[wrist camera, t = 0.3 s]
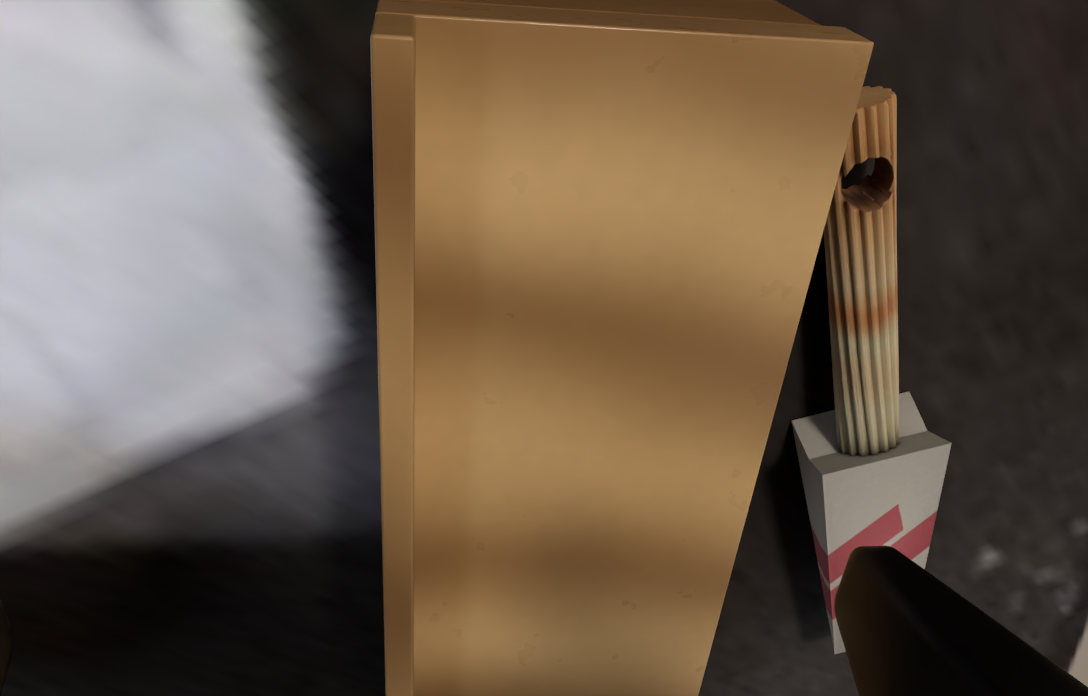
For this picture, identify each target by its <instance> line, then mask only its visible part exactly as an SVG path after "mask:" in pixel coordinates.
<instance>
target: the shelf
mask: <svg viewBox="0 0 1088 696" xmlns="http://www.w3.org/2000/svg"><path fill="white" fill-rule="evenodd" d="M370 46H371V89H372V132H373V176H374V219H375V262H376V305H377V348H378V392H379V435H380V478H381V521H382V565H383V608H384V651H385V694H386V696H698V694H699V690H700V687H701V683H702V679H703V676H704V672H705V668H706V664H707V661H708V657H709V653H710V650H711V646H712V642H713V639H714V635H715V631H716V627H717V624H718V620H719V616H720V613H721V609H722V605H723V601H724V598H725V594H726V590H727V587H728V583H729V579H730V576H731V572H732V568H733V564H734V561H735V557H736V553H737V550H738V546H739V542H740V538H741V535H742V531H743V527H744V524H745V520H746V516H747V513H748V509H749V505H750V501H751V498H752V494H753V490H754V487H755V483H756V479H757V475H758V472H759V468H760V464H761V461H762V457H763V453H764V450H765V446H766V442H767V438H768V435H769V431H770V427H771V424H772V420H773V416H774V412H775V409H776V405H777V401H778V398H779V394H780V390H781V387H782V383H783V379H784V375H785V372H786V368H787V364H788V361H789V357H790V353H791V349H792V346H793V342H794V338H795V335H796V331H797V327H798V324H799V320H800V316H801V312H802V309H803V305H804V301H805V298H806V294H807V290H808V286H809V283H810V279H811V275H812V272H813V268H814V264H815V261H816V257H817V253H818V249H819V246H820V242H821V238H822V235H823V231H824V227H825V224H826V220H827V216H828V212H829V209H830V205H831V201H832V198H833V194H834V190H835V186H836V183H837V179H838V175H839V172H840V168H841V164H842V161H843V157H844V153H845V149H846V146H847V142H848V138H849V135H850V131H851V127H852V123H853V120H854V116H855V112H856V109H857V105H858V101H859V98H860V94H861V90H862V86H863V83H864V79H865V75H866V72H867V68H868V64H869V60H870V57H871V53H872V49H873V46H874V43H873V42H871V41H869V40H868V39H866V38H864V37H862V36H860V35H858V34H856V33H854V32H852V31H850V30H848V29H846V28H844V27H833V26H821V25H819V24H817V23H815V22H814V21H812V20H810V19H808V18H806V17H804V16H803V15H801V14H799V13H797V12H795V11H793V10H792V9H790V8H788V7H786V6H784V5H782V4H781V3H779V2H777V1H775V0H379V1H378V6H377V10H376V14H375V20H374V24H373V28H372V33H371V37H370Z"/></svg>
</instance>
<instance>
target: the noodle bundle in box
mask: <svg viewBox="0 0 1088 696" xmlns="http://www.w3.org/2000/svg"><path fill="white" fill-rule="evenodd" d="M868 158H875V167H874V171H873V173H872V175H871V177H870V176H869V175H867V176H866V177H865V178H864V179H863V180H862V182H861V183H860V184H859V185H852V186H850V187H848V189H841V179H842V176H843V173H844V177H846V175H847V174H848V173H849V172H850V170H851V169H852V167H853V166H854V165H855V164H856V163H862V162H864V161H866V160H867V159H868ZM896 167H897V97H896V95H895V93H894V92H893V91H891V89H889V88H884V89H883V87H881V86H877V87H872V88H871V87H870V86H865V87H862V90H861V94H860V98H859V101H858V105H857V109H856V112H855V116H854V120H853V123H852V127H851V131H850V135H849V138H848V142H847V146H846V149H845V153H844V157H843V161H842V164H841V168H840V172H839V175H838V179H837V183H836V186H835V190H834V194H833V198H832V201H831V205H830V209H829V212H828V216H827V220H826V224H825V227H824V244H825V258H826V272H827V289H828V307H829V323H830V339H831V354H832V370H833V385H834V401H835V410H832V411H828V412H824V413H820V414H816V415H812V416H808V417H804V418H800V419H796V420H792V421H791V422H792V427H793V433H794V438H795V443H796V449H797V454H798V459H799V465H800V470H801V476H802V481H803V486H804V492H805V497H806V502H807V508H808V513H809V518H810V524H811V529H812V535H813V540H814V545H815V551H816V556H817V561H818V567H819V572H820V577H821V583H822V588H823V594H824V599H825V604H826V610H827V615H828V620H829V626H830V631H831V636H832V642H833V647H834V653H835V654H837V653H841V652H845V651H846V650H845V647H844V644H843V640H842V637H841V634H840V631H839V627H838V624H837V621H836V617H835V610H834V602H835V596H836V593H837V590H838V587H839V584H840V581H841V578H842V575H843V572H844V570H845V567H846V564H847V561H848V558H849V556H850V553H851V552H852V551H853V550H854V549H855V548H857V547H860V546H890V547H893V548H895V549H896V550H898V551H899V552H901V553H902V554H904V555H905V556H906V557H908V558H909V559H911V560H912V561H913V562H915V563H916V564H917V565H919V566H920V567H922V568H923V569H924V570H925V565H926V560H927V556H928V551H929V546H930V542H931V537H932V532H933V527H934V523H935V518H936V513H937V509H938V504H939V499H940V495H941V490H942V485H943V481H944V476H945V471H946V467H947V462H948V457H949V453H950V448H951V443H950V442H948V441H946V440H944V439H942V438H941V437H939V436H937V435H935V434H933V433H931V432H929V431H927V429H926V427H925V424H924V422H923V420H922V418H921V416H920V414H919V411H918V409H917V407H916V405H915V403H914V401H913V398H912V396H911V394H910V392H909V391H908V392H904V393H900V394H899V361H898V298H897V235H896Z"/></svg>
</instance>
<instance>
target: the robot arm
mask: <svg viewBox="0 0 1088 696" xmlns="http://www.w3.org/2000/svg"><path fill="white" fill-rule="evenodd" d="M834 610H835V617H836V621H837V624H838V627H839V631H840V634H841V637H842V640H843V644H844V647H845V650H846V654H847V657H848V660H849V663H850V667H851V670H852V673H853V677H854V680H855V683H856V686H857V690H858V693H859V696H1088V687H1087V686H1085V685H1084V684H1083V683H1081V682H1080V681H1078V680H1077V679H1076V678H1074V677H1073V676H1071V675H1070V674H1069V673H1067V672H1066V671H1065V670H1063V669H1062V668H1060V667H1059V666H1058V665H1056V664H1055V663H1053V662H1052V661H1051V660H1049V659H1048V658H1046V657H1045V656H1044V655H1042V654H1041V653H1040V652H1038V651H1037V650H1035V649H1034V648H1033V647H1031V646H1030V645H1028V644H1027V643H1026V642H1024V641H1023V640H1022V639H1020V638H1019V637H1017V636H1016V635H1015V634H1013V633H1012V632H1010V631H1009V630H1008V629H1006V628H1005V627H1003V626H1002V625H1001V624H999V623H998V622H997V621H995V620H994V619H992V618H991V617H990V616H988V615H987V614H985V613H984V612H983V611H981V610H980V609H979V608H977V607H976V606H974V605H973V604H972V603H970V602H969V601H967V600H966V599H965V598H963V597H962V596H960V595H959V594H958V593H956V592H955V591H954V590H952V589H951V588H949V587H948V586H947V585H945V584H944V583H942V582H941V581H940V580H938V579H937V578H935V577H934V576H933V575H931V574H930V573H929V572H927V571H926V570H924V569H923V568H922V567H920V566H919V565H917V564H916V563H915V562H913V561H912V560H911V559H909V558H908V557H906V556H905V555H904V554H902V553H901V552H899V551H898V550H896V549H895V548H893V547H890V546H860V547H857V548H855V549H854V550H853V551H852V552H851V553H850V556H849V558H848V561H847V564H846V567H845V570H844V572H843V575H842V578H841V581H840V584H839V587H838V590H837V593H836V596H835V602H834ZM12 652H13V633H12V629H11V627H10V624H9V621H8V618H7V615H6V613H5V610H4V607H3V604H2V601H1V599H0V695H1V691H2V688H3V685H4V681H5V678H6V674H7V671H8V668H9V664H10V661H11V657H12Z"/></svg>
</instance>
